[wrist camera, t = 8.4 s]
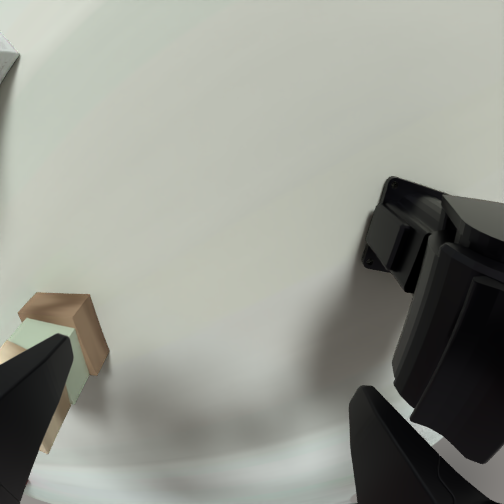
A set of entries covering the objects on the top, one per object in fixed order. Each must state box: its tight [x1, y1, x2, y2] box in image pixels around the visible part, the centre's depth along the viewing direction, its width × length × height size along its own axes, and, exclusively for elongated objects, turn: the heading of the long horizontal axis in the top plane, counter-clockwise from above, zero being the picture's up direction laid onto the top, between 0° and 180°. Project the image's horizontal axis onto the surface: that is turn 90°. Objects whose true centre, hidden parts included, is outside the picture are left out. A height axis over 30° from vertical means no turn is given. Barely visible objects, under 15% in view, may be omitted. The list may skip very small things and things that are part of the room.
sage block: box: [8, 318, 90, 405], centre depth 20 cm, size 5×5×4 cm
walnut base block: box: [18, 292, 109, 376], centre depth 23 cm, size 6×6×4 cm
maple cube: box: [0, 340, 71, 454], centre depth 16 cm, size 5×5×5 cm
